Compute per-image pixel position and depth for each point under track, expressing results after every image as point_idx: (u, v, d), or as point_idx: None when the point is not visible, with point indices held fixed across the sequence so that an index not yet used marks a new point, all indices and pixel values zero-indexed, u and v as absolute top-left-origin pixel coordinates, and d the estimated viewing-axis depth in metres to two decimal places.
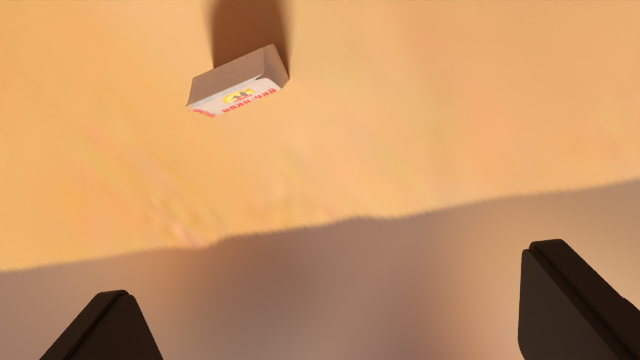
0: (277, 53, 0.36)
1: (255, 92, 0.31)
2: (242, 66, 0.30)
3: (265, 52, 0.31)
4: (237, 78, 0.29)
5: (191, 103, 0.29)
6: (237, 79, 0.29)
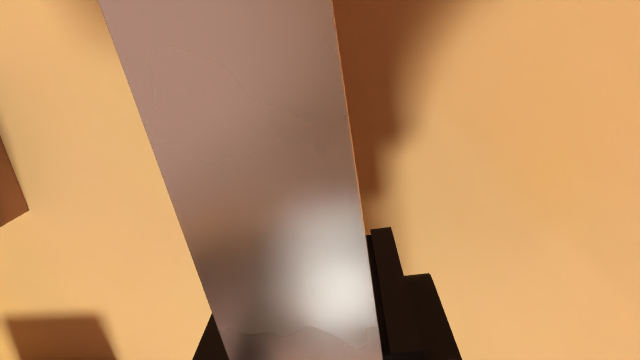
0: None
1: None
2: None
3: None
4: None
5: None
6: None
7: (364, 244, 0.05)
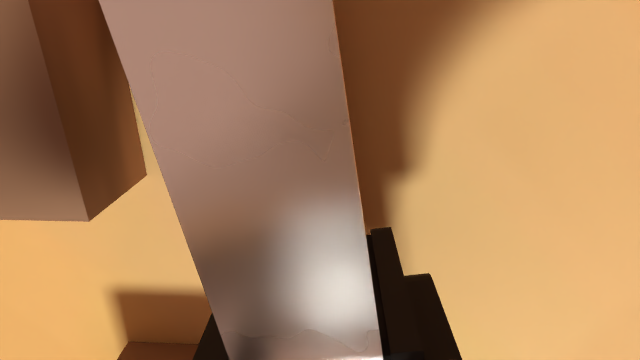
0: None
1: None
2: None
3: None
4: None
5: None
6: None
7: (365, 248, 0.05)
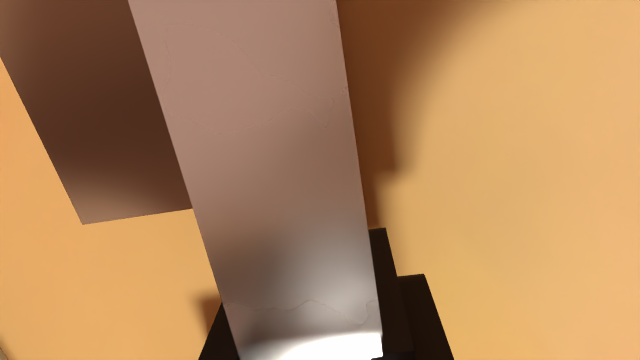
0: None
1: None
2: None
3: None
4: None
5: None
6: None
7: (364, 215, 0.05)
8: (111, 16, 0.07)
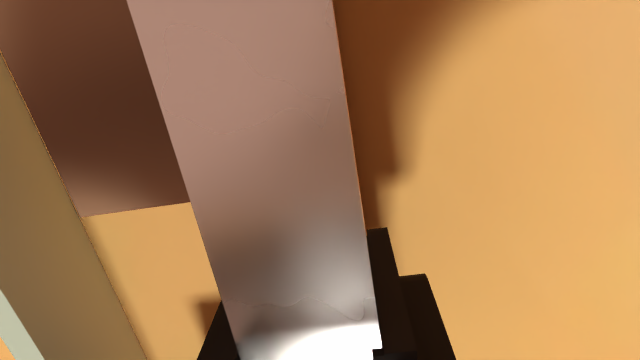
0: None
1: None
2: None
3: None
4: None
5: None
6: None
7: (361, 213, 0.05)
8: (109, 8, 0.07)
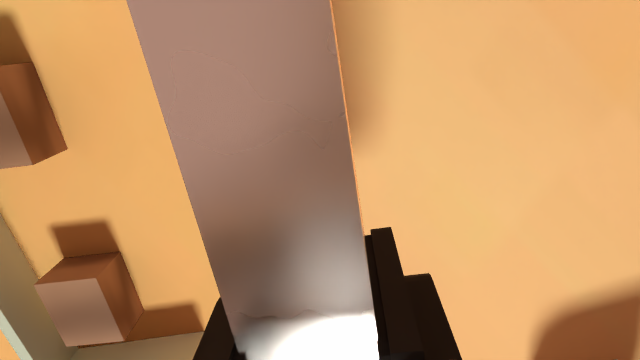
0: None
1: None
2: None
3: None
4: None
5: None
6: None
7: (360, 230, 0.05)
8: None
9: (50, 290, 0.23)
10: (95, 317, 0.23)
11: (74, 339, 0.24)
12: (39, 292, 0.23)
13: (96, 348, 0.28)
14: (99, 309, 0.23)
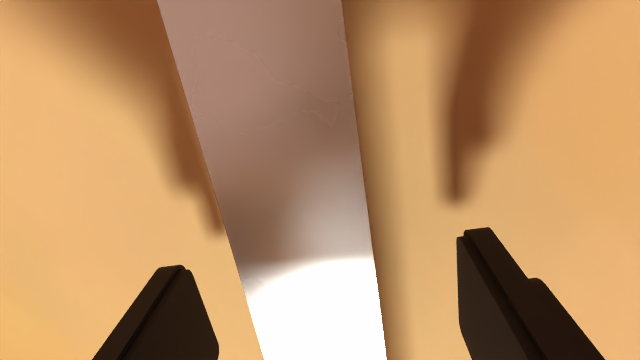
0: None
1: None
2: None
3: None
4: None
5: None
6: None
7: (365, 203, 0.06)
8: None
9: None
10: None
11: None
12: None
13: None
14: None
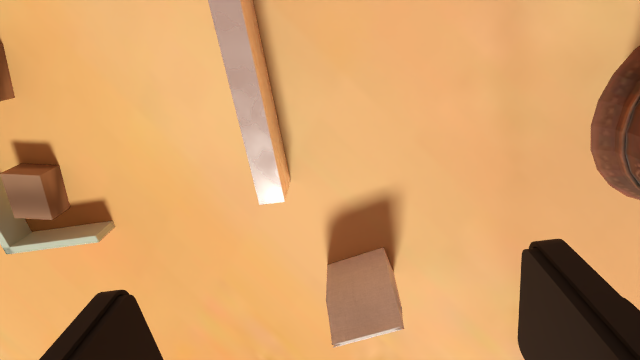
0: (386, 257, 0.41)
1: None
2: (375, 302, 0.35)
3: (391, 284, 0.36)
4: (375, 320, 0.34)
5: (337, 342, 0.34)
6: (375, 322, 0.34)
7: (250, 46, 0.29)
8: None
9: (10, 178, 0.37)
10: (35, 201, 0.38)
11: (20, 213, 0.38)
12: (2, 179, 0.37)
13: (43, 231, 0.42)
14: (39, 196, 0.37)
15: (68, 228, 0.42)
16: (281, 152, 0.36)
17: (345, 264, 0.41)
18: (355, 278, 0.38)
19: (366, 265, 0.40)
